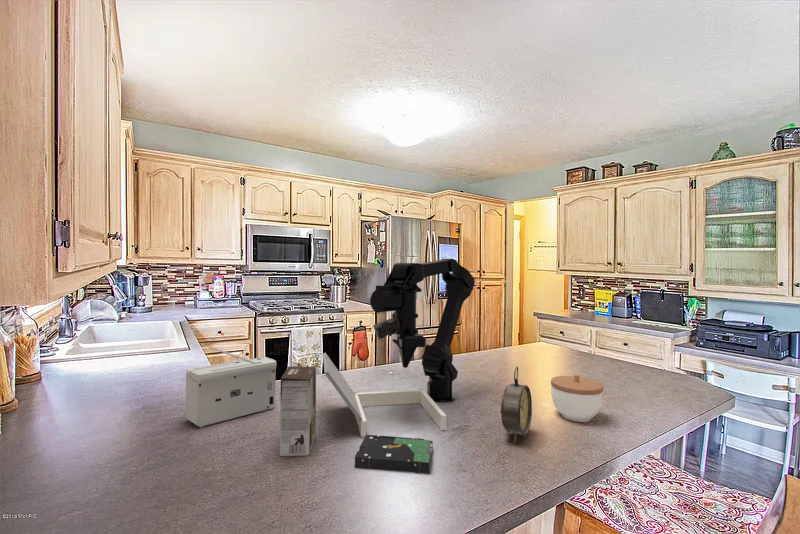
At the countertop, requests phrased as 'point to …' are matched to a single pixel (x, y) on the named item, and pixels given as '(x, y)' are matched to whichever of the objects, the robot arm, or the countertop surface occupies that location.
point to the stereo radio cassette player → (229, 389)
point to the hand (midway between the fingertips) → (405, 367)
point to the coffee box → (297, 411)
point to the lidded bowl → (576, 397)
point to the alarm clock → (516, 408)
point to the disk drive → (395, 454)
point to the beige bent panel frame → (379, 398)
